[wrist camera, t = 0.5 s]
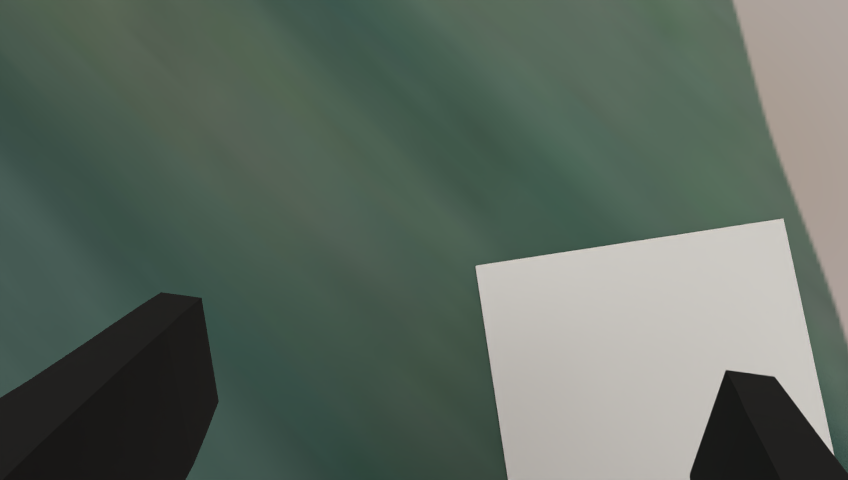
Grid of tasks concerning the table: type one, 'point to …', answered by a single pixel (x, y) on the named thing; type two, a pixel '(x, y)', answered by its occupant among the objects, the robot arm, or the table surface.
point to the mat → (639, 349)
